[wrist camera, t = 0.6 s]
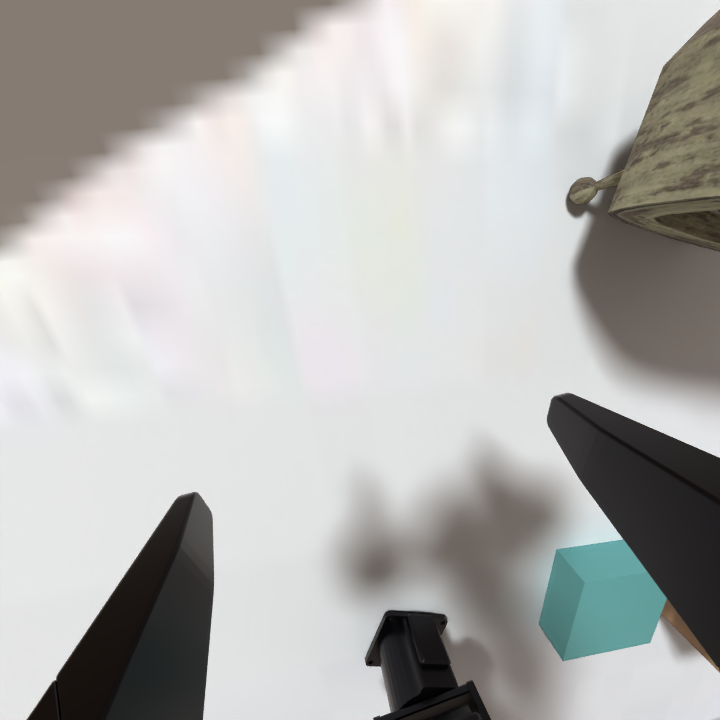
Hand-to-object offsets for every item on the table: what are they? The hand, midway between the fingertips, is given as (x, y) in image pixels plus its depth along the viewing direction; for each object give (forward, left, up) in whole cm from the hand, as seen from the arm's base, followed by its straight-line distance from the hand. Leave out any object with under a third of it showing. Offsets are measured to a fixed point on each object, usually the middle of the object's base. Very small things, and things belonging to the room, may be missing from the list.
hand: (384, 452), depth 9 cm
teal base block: (-19, -35, -17) cm, 43 cm away
